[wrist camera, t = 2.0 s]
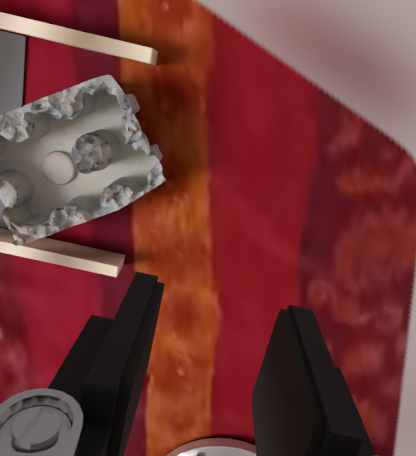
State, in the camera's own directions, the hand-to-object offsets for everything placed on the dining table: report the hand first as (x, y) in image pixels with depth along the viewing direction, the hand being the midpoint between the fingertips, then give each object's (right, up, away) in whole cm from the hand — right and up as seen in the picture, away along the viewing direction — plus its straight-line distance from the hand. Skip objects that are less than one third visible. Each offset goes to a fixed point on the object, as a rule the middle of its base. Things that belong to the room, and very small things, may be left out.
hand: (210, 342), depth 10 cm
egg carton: (-9, +8, +16) cm, 20 cm away
